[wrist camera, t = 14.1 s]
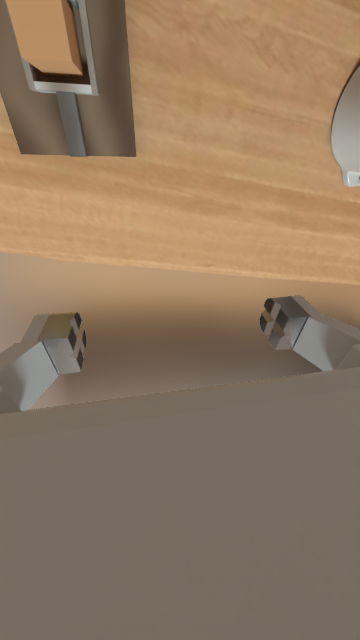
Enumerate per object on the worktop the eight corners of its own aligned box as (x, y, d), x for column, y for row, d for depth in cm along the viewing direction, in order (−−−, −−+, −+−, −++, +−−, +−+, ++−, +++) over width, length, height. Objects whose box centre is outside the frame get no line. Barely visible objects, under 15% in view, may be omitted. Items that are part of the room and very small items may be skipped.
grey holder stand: (116, -99, 20) (114, -135, 17) (136, 156, 31) (136, 157, 28) (-67, -132, 18) (-102, -180, 15) (25, 153, 29) (14, 155, 26)
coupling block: (75, 18, 22) (57, -19, 17) (84, 77, 25) (72, 61, 19) (31, 13, 22) (-2, -27, 16) (45, 74, 24) (21, 57, 19)
